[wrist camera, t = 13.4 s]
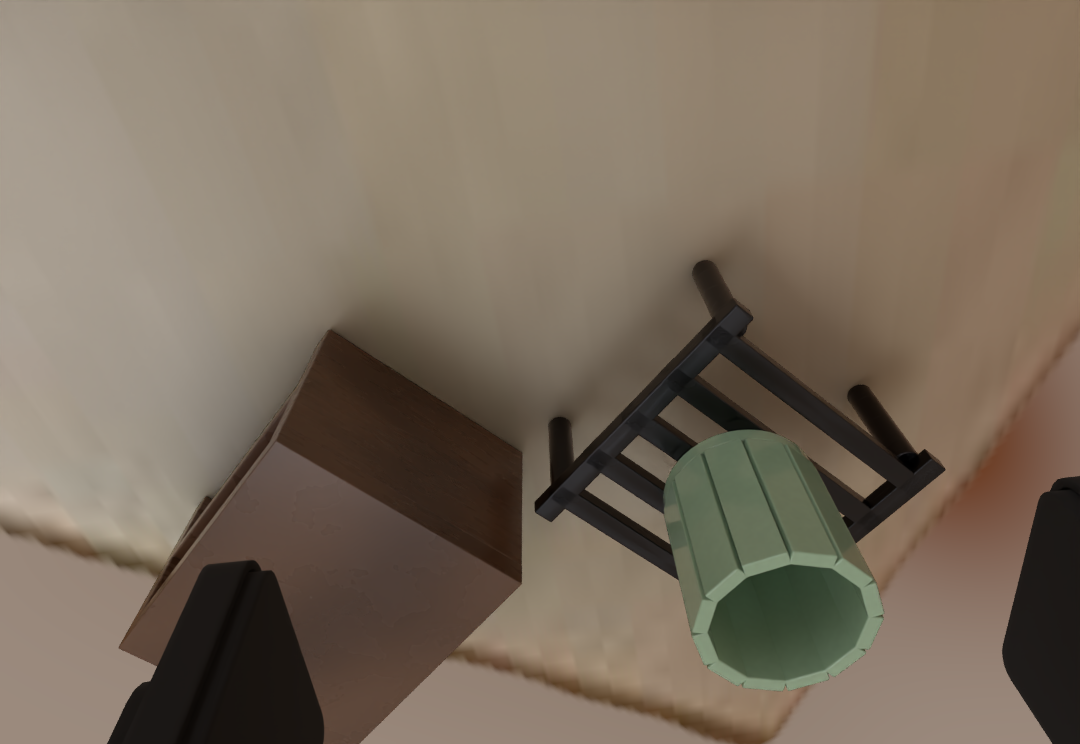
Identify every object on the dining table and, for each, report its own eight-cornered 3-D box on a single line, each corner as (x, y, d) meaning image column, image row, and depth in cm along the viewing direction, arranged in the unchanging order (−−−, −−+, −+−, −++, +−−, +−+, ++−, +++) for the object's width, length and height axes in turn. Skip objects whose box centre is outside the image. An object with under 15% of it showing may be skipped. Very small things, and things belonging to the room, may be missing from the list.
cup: (631, 503, 38) (655, 638, 31) (738, 401, 35) (791, 521, 28) (739, 574, 40) (784, 715, 33) (847, 481, 37) (922, 613, 30)
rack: (532, 429, 44) (534, 512, 38) (703, 243, 39) (737, 304, 33) (711, 546, 48) (738, 639, 42) (886, 391, 43) (946, 470, 37)
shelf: (195, 509, 46) (117, 648, 37) (329, 328, 41) (275, 440, 32) (379, 607, 50) (347, 755, 41) (522, 453, 45) (522, 584, 36)
